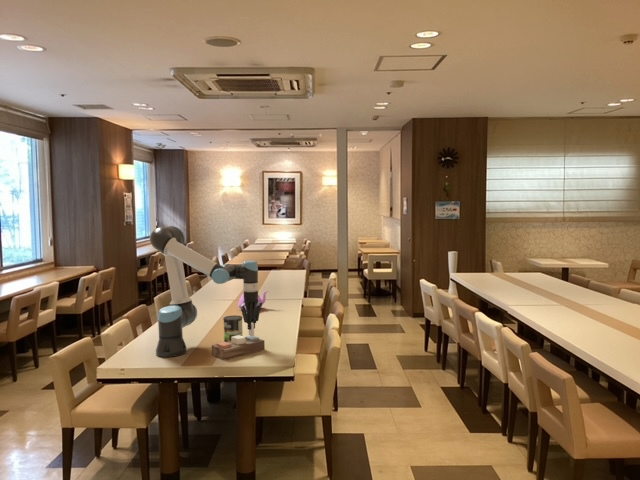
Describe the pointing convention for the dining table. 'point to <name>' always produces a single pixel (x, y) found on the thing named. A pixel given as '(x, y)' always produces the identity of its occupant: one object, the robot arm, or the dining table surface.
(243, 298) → the teapot
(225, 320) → the coffee can
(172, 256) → the robot arm
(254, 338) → the slate key
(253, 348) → the key console
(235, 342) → the ivory key
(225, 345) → the terracotta key
